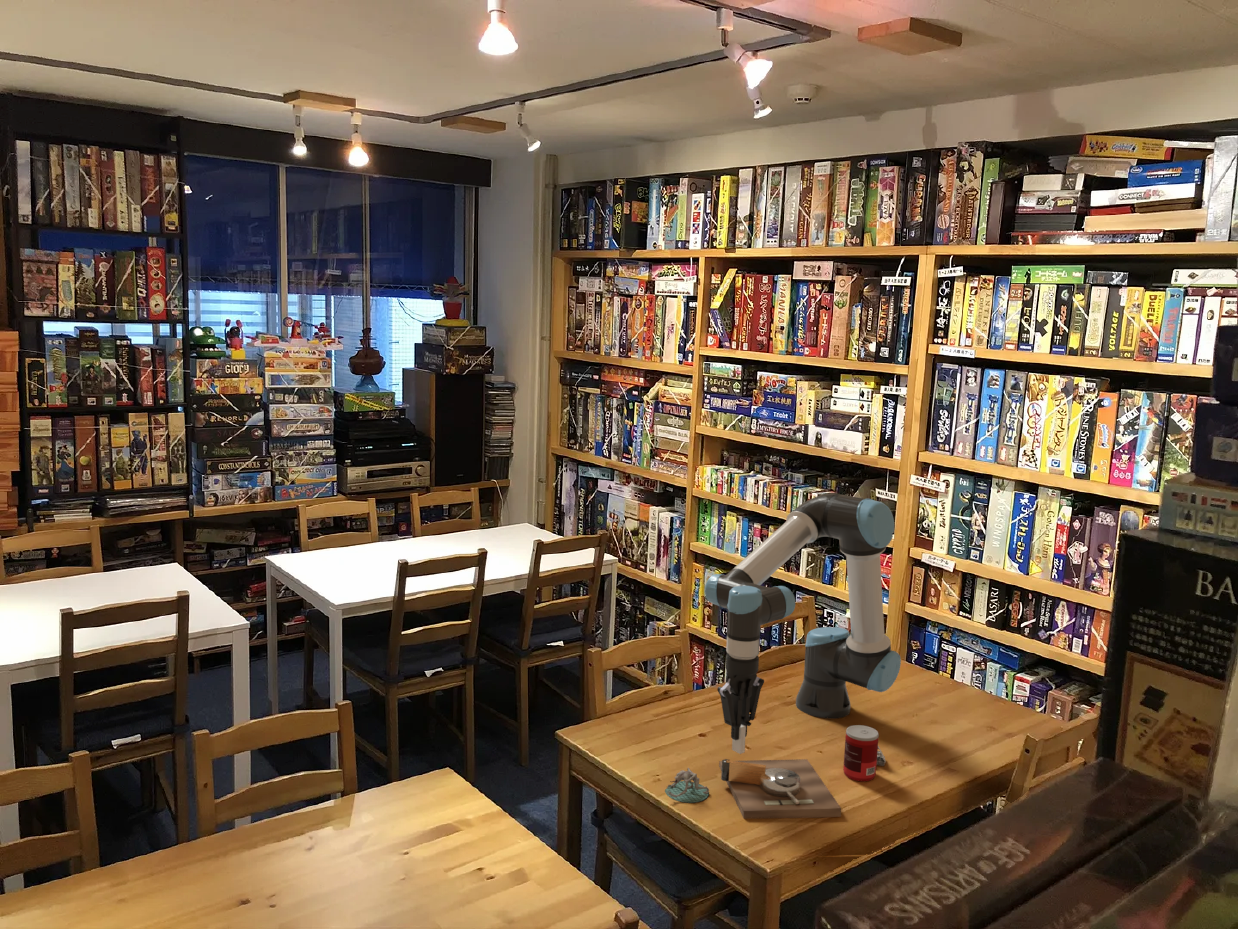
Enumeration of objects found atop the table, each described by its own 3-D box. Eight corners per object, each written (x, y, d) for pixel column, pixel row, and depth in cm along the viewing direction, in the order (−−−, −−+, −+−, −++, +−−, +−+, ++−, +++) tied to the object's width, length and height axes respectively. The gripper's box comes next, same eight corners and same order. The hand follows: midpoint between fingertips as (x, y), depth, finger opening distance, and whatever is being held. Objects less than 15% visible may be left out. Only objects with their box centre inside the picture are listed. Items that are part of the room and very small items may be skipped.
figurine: (651, 788, 220) (652, 763, 219) (697, 781, 225) (698, 756, 224) (671, 812, 210) (672, 785, 209) (719, 803, 215) (721, 777, 214)
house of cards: (846, 770, 233) (848, 741, 232) (848, 755, 242) (850, 727, 240) (884, 776, 231) (887, 746, 230) (885, 761, 239) (887, 732, 238)
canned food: (876, 770, 233) (879, 727, 232) (874, 784, 226) (878, 740, 224) (844, 765, 235) (847, 722, 234) (841, 779, 228) (844, 735, 226)
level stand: (718, 769, 231) (719, 760, 231) (806, 767, 234) (807, 758, 233) (743, 819, 207) (744, 809, 207) (840, 816, 210) (841, 807, 210)
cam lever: (717, 794, 214) (718, 775, 213) (723, 770, 225) (724, 752, 225) (798, 806, 210) (800, 786, 209) (801, 781, 222) (802, 762, 221)
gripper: (751, 644, 225) (747, 738, 228) (710, 654, 217) (706, 752, 221) (774, 653, 219) (769, 750, 222) (733, 664, 211) (728, 764, 215)
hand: (738, 751), depth 222 cm, fingers closed
